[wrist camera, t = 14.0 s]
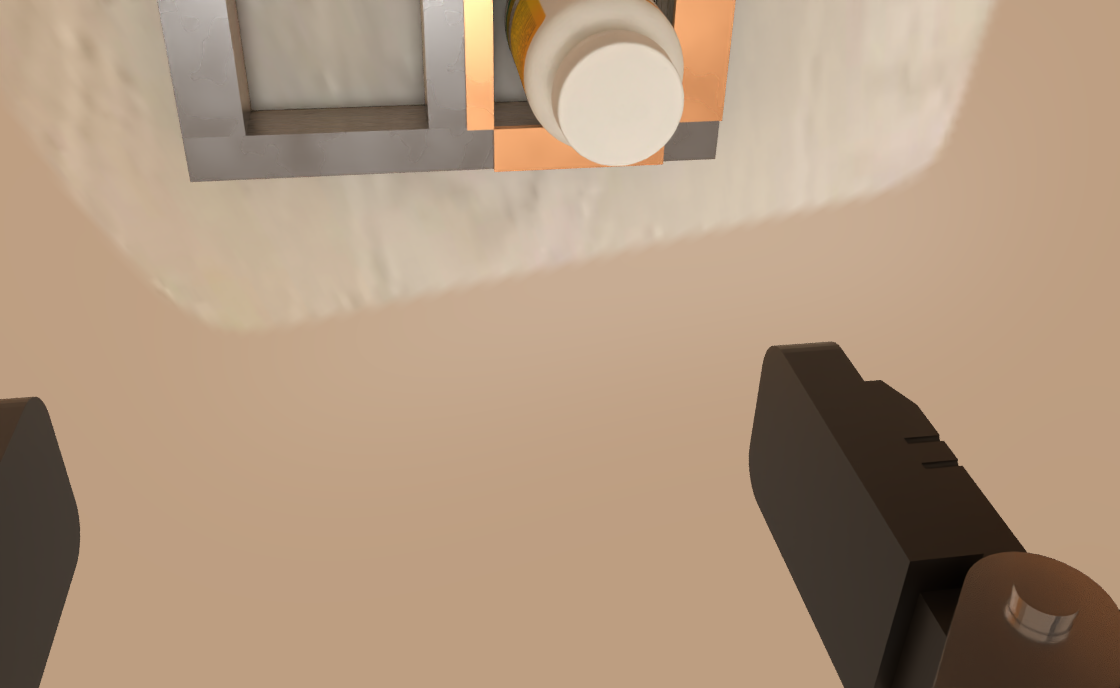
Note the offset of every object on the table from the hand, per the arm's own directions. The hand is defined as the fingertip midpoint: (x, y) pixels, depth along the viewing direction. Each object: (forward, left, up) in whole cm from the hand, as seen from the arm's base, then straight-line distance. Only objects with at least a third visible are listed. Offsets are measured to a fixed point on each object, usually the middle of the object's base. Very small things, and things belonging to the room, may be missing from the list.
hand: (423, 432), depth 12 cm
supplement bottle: (+4, +7, -30) cm, 31 cm away
